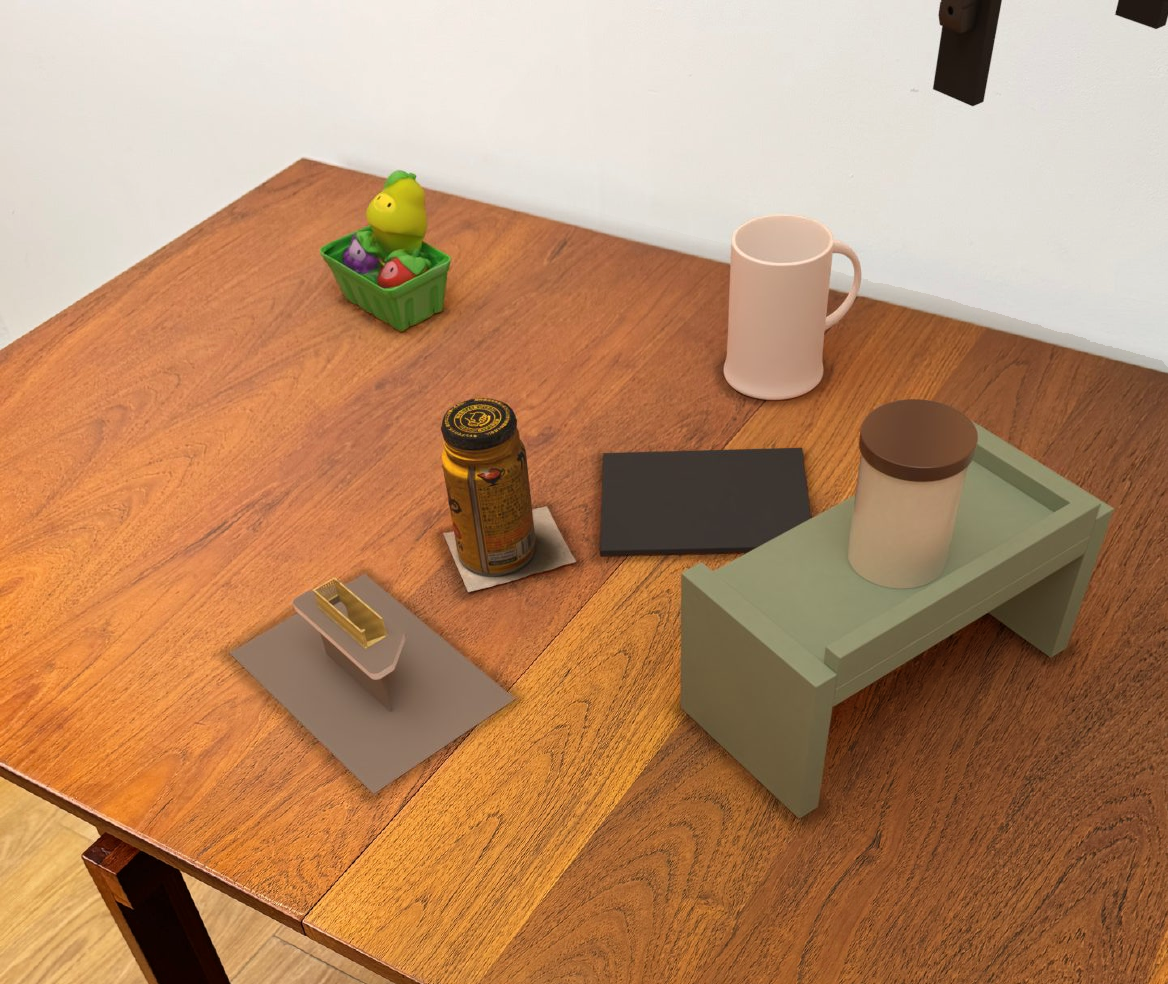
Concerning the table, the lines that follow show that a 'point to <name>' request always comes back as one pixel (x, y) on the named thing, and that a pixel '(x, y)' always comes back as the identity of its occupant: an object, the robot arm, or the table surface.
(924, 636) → the stand
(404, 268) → the fruit basket
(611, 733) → the table surface
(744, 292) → the mug
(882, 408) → the spice jar
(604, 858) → the table surface
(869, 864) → the table surface
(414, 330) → the table surface
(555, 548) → the condiment
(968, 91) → the robot arm
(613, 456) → the mat
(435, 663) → the platform
